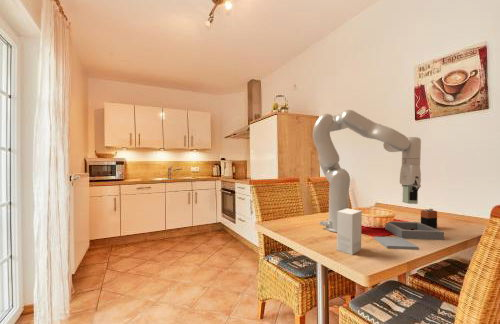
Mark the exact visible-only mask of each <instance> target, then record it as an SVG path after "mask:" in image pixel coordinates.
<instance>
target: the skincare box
mask: <svg viewBox="0 0 500 324" xmlns="http://www.w3.org/2000/svg"><path fill="white" fill-rule="evenodd" d="M337 212H338V216H337V232H336V233H337V234H336V251H338V252H342V253H345V254H348V255H351V256H353V255H354V254H356V253H358V252H359V251H361V250H362V223H363V222H362V219H363V218H362V217H363V216H362V215H363V213H362V212H363V211H362V210H359V209H355V208H354V209H353V208H349V209H348V208H347V209H344V210H340V211H337Z"/></svg>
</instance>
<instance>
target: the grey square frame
mask: <svg viewBox="0 0 500 324" xmlns="http://www.w3.org/2000/svg"><path fill="white" fill-rule="evenodd" d="M391 221H392V222H388V223H386V225H385V229H384V230H386V231H388V232H390V233H392V234H393V235H395V236H396V237H402V238H404V239H405V240H408V239H409V240H411V239H413V240H433V241H434V240H436V241H437V240H438V241H440V240H441V241H444V240H445V237H444V236H445V234H444V231H442V230H440V229H437V228H432V227H430V226H427V225H425V224H422V223H421V221H420V222H419V221H393V220H391ZM411 229H415V230H411Z"/></svg>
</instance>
